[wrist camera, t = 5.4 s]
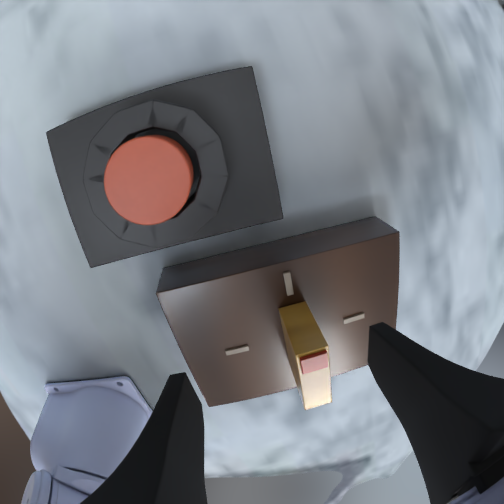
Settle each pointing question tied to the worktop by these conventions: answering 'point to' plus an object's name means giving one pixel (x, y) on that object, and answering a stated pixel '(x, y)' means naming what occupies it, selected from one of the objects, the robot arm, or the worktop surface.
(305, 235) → the plate
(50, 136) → the doorbell
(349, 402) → the worktop surface
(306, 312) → the lock knob
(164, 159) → the bell button
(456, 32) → the worktop surface
